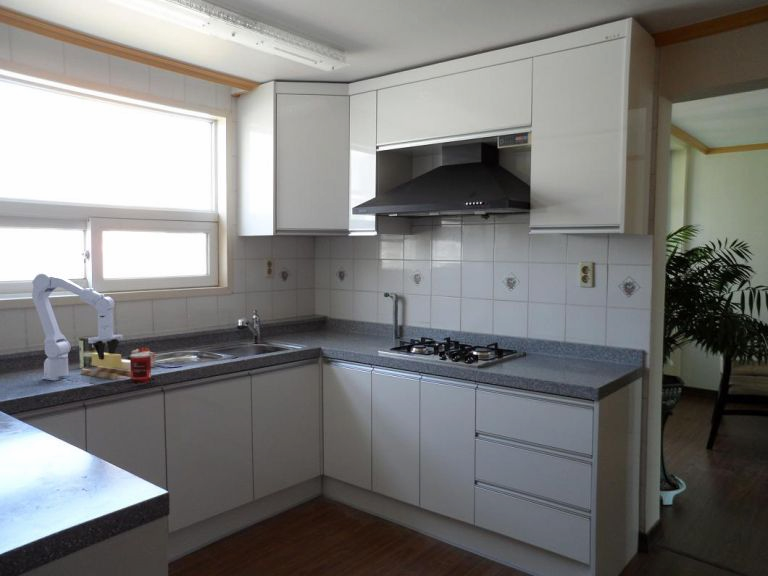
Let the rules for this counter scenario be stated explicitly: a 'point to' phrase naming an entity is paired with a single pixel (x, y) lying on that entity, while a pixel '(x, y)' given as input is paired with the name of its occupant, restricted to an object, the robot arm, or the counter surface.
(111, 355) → the pale yellow bar
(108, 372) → the slot board
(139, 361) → the canned food
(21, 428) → the counter surface
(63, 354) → the robot arm
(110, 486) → the counter surface
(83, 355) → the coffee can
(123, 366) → the white bar
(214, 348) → the counter surface
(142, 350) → the food item
